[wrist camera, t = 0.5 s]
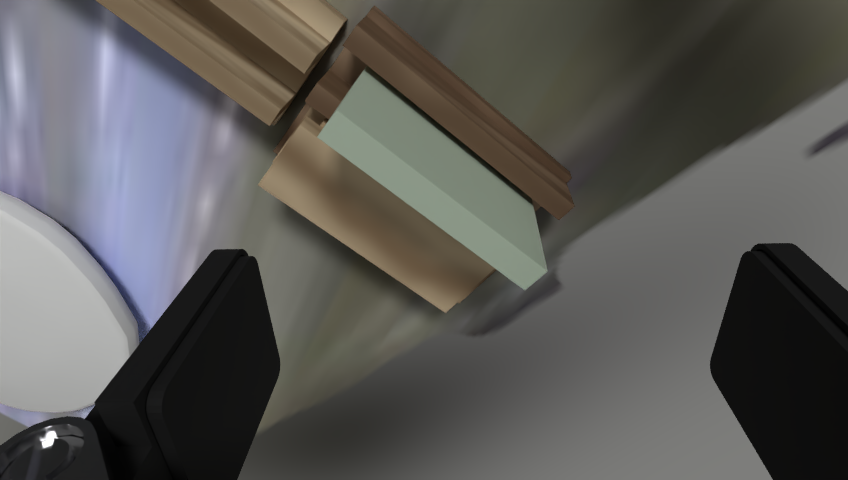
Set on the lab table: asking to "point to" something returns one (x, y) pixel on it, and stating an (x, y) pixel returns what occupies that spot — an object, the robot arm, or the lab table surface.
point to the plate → (55, 316)
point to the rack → (373, 203)
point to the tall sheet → (437, 176)
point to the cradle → (240, 43)
